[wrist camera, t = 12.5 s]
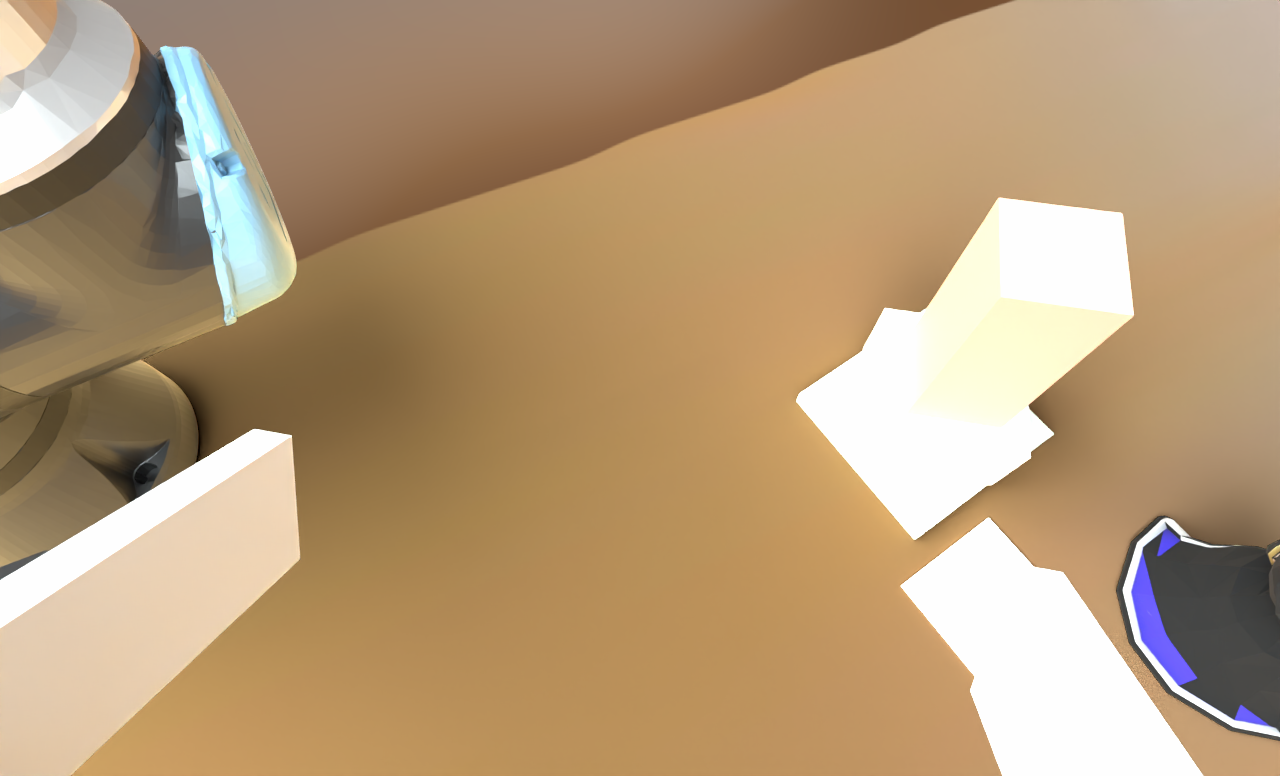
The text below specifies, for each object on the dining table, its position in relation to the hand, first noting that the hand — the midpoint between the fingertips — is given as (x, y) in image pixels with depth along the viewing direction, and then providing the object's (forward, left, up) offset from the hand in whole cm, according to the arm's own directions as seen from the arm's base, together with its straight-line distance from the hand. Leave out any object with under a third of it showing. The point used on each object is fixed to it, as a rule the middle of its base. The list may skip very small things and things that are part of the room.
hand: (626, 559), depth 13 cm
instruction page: (+9, +18, -30) cm, 36 cm away
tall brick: (-2, +22, -23) cm, 32 cm away
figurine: (+16, +26, -30) cm, 43 cm away
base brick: (-2, +22, -28) cm, 36 cm away
